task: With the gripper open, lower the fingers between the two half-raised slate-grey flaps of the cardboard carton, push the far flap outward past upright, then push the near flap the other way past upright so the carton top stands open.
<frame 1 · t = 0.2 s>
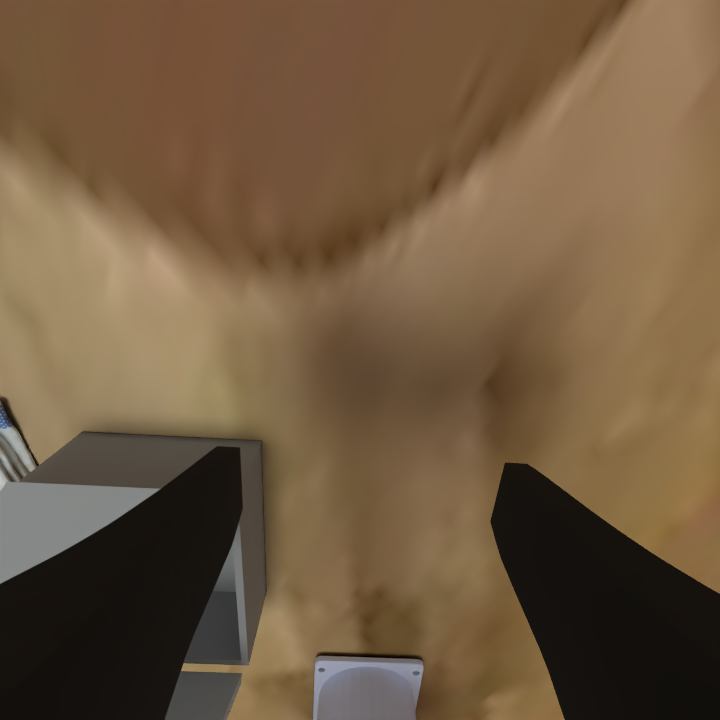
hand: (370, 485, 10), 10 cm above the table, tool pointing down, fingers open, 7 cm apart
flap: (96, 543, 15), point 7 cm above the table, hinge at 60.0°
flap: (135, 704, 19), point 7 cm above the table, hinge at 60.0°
carton: (183, 519, 23), on the table
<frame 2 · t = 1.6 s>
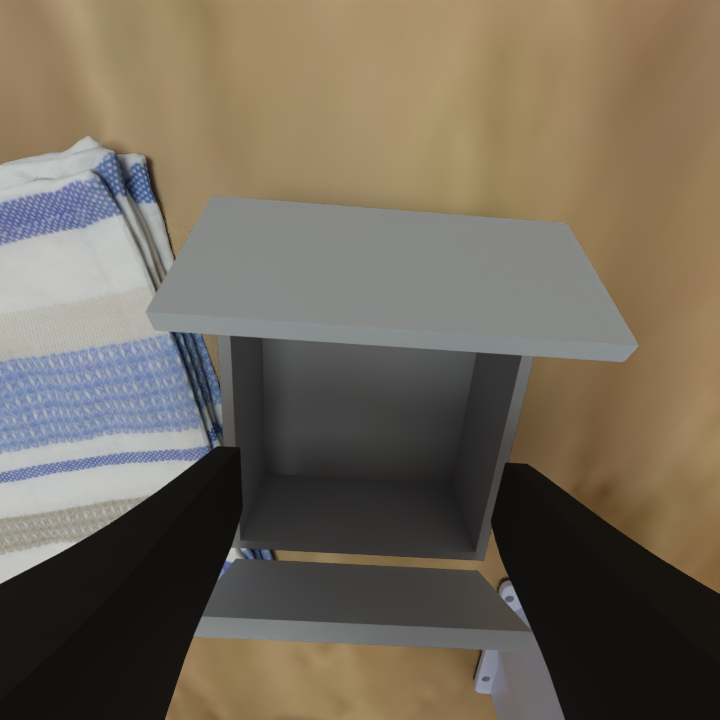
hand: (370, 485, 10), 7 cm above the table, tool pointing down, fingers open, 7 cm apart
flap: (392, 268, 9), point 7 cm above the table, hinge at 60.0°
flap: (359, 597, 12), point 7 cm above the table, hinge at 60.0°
dish towel: (75, 436, 19), on the table
carton: (367, 370, 17), on the table
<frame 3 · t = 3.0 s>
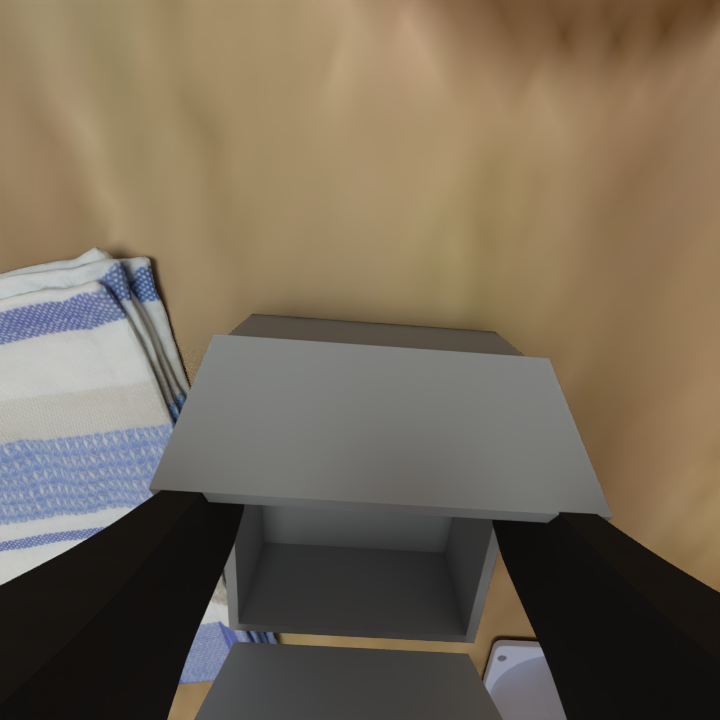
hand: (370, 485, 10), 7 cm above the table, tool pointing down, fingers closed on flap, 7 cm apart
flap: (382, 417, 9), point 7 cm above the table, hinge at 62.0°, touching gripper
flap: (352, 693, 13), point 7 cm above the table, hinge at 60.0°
dish towel: (79, 503, 20), on the table
carton: (363, 448, 18), on the table
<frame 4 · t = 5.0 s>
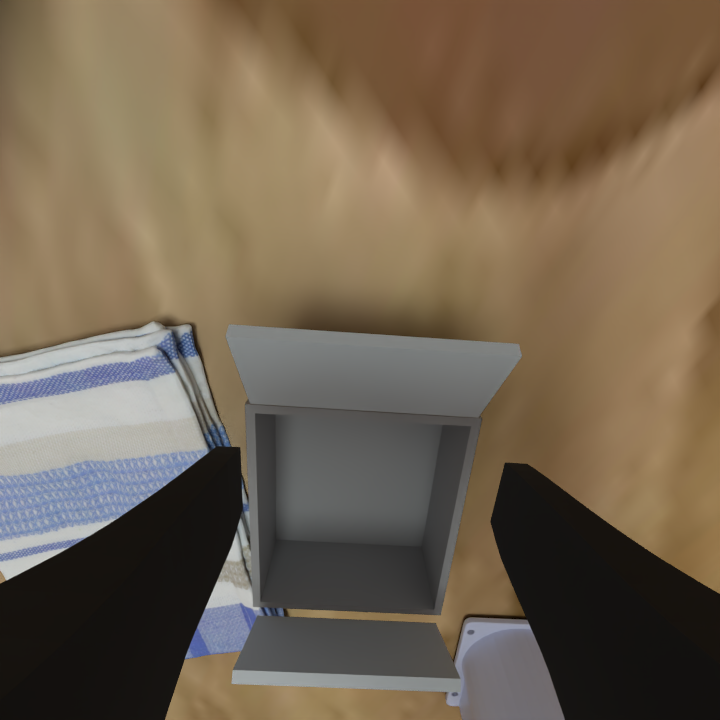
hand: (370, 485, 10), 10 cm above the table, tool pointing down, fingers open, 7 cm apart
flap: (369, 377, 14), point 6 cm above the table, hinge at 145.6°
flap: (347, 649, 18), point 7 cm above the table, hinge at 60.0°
dish towel: (126, 508, 24), on the table
carton: (355, 465, 22), on the table
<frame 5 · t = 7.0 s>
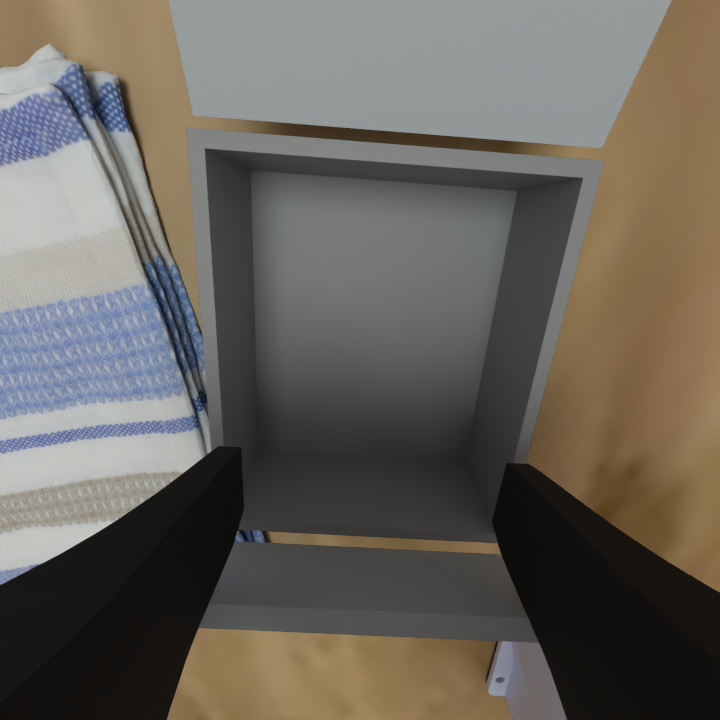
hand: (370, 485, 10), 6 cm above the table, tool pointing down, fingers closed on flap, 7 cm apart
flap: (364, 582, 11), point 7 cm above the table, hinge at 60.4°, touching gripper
dish towel: (49, 410, 17), on the table
carton: (371, 333, 15), on the table
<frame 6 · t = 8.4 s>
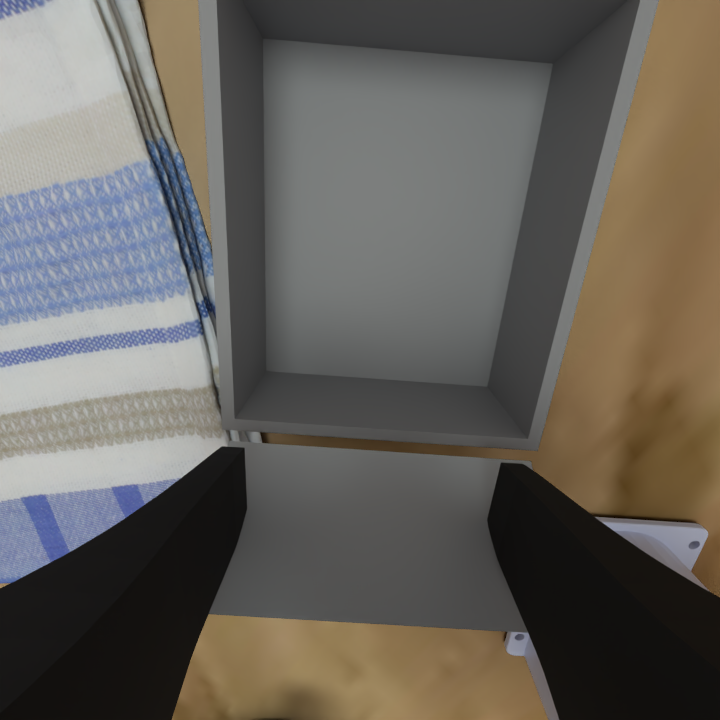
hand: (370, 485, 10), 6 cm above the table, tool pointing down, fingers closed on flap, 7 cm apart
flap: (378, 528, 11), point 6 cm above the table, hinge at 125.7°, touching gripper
dish towel: (44, 328, 16), on the table
carton: (390, 237, 14), on the table
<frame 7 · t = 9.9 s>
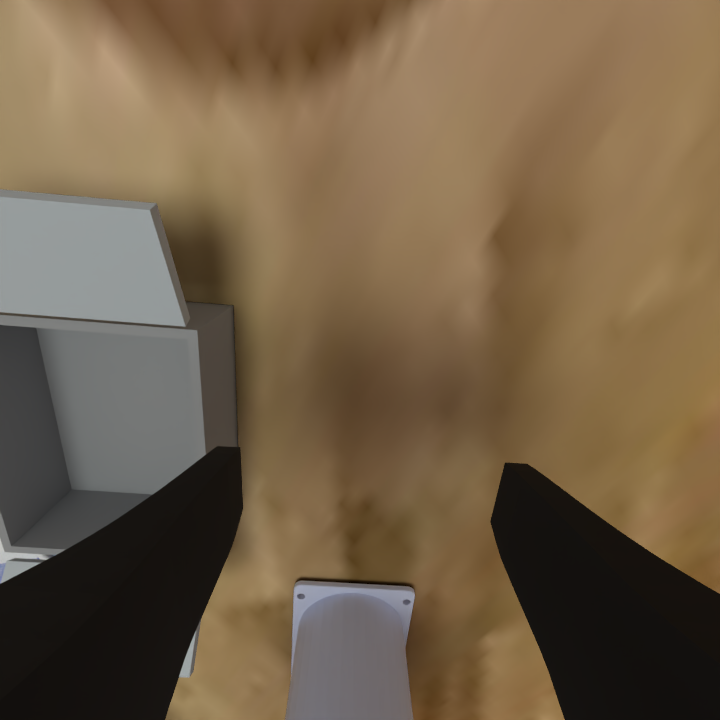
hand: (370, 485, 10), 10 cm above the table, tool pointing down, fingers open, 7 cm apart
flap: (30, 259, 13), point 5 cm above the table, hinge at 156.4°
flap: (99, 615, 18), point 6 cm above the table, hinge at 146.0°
carton: (144, 406, 21), on the table
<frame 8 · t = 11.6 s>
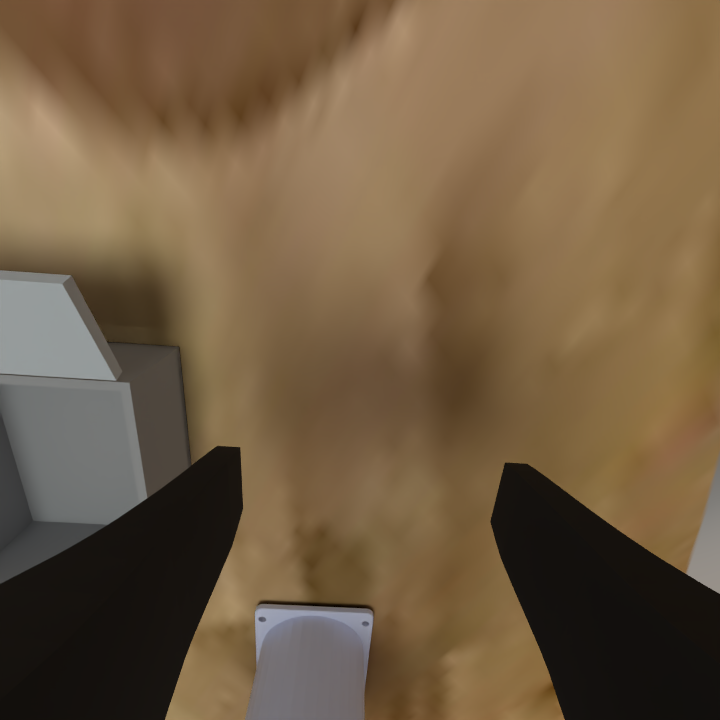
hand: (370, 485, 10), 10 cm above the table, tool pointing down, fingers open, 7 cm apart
carton: (99, 441, 21), on the table
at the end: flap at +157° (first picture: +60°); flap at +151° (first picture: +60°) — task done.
